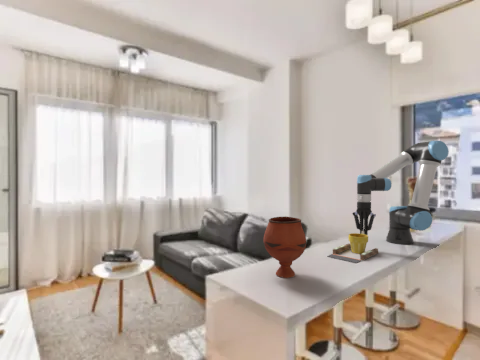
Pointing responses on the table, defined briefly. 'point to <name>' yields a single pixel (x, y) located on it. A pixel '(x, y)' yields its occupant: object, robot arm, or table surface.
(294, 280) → the table surface
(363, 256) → the pair of brown bars
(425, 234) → the table surface
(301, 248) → the goblet
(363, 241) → the plant pot
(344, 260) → the mat
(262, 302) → the table surface
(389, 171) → the robot arm
